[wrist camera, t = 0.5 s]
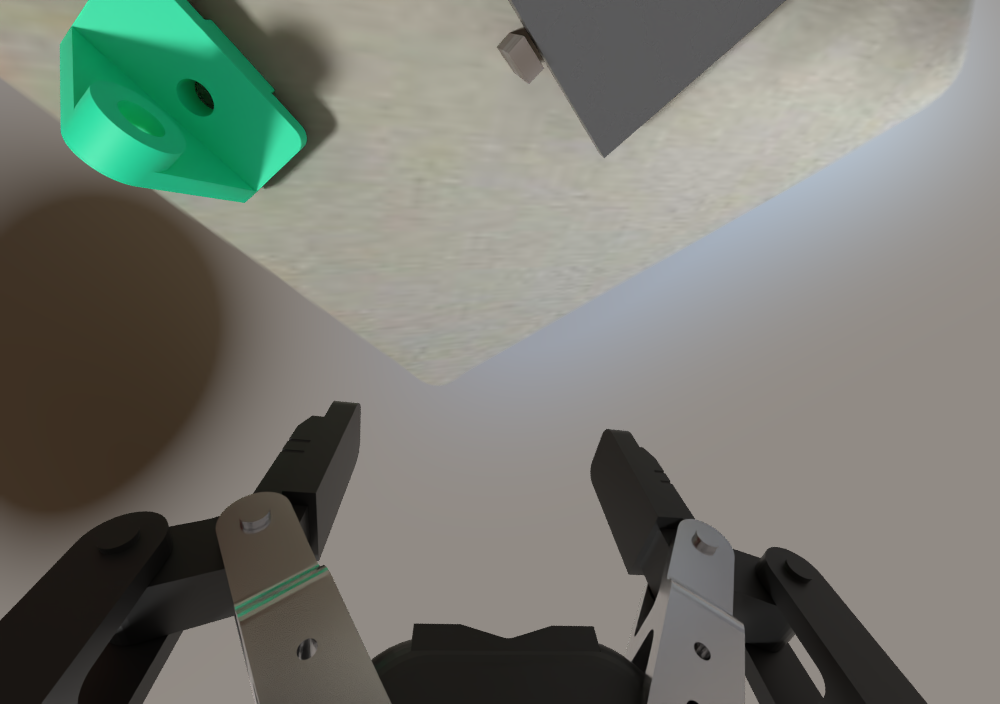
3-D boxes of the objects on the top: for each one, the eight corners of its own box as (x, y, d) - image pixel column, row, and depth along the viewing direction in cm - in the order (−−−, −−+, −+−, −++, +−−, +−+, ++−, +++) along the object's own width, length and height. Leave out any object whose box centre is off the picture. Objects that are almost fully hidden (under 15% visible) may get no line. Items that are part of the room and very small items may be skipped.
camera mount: (316, 135, 30) (271, 174, 22) (256, 191, 32) (197, 244, 25) (151, -48, 23) (1, -83, 15) (90, 42, 25) (-68, 51, 17)
